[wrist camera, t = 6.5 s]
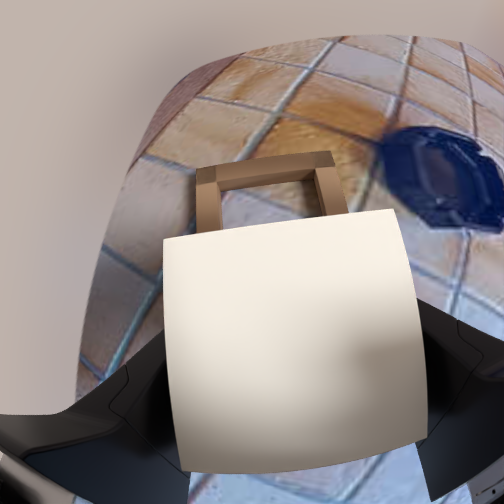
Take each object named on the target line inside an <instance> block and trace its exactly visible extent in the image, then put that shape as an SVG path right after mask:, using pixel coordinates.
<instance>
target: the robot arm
mask: <svg viewBox="0 0 504 504" xmlns="http://www.w3.org/2000/svg"><path fill="white" fill-rule="evenodd" d="M416 299H417V305H418V310H419V316H420V323H421V330H422V337H423V345H424V354H425V365H426V379H427V407H428V421H427V438H425V439H422V440H420V441H417V442H415V444H416V447H417V449H418V450H417V451H418V455H419V458H420V461H421V465H422V469H423V472H424V476H425V480H426V484H427V488H428V492H429V496H430V500H431V502H433V501H435V500H437V499H439V498H442V497H444V496H446V495H448V494H449V493H451V492H453V491H455V490H457V489H459V488H461V487H462V486H464V485H466V484H467V486H468V489H469V493H470V496H471V499H472V504H504V341H502V340H500V339H497V338H495V337H493V336H491V335H488V334H486V333H484V332H482V331H480V330H478V329H476V328H474V327H472V326H470V325H468V324H466V323H464V322H462V321H460V320H457V319H456V318H454V317H453V316H451V315H449V314H447V313H445V312H443V311H441V310H439V309H437V308H435V307H433V306H431V305H430V304H428V303H426V302H424V301H422V300H420V299H418V298H416ZM0 451H1V452H3V453H4V454H3V456H2V459H1V461H0V504H187V499H188V491H189V484H190V476H191V472H188V471H182V468H181V463H180V458H179V453H178V447H177V441H176V435H175V428H174V421H173V414H172V407H171V398H170V390H169V380H168V369H167V357H166V343H165V328H164V329H163V330H162V331H161V332H160V333H159V334H157V335H156V336H155V337H154V338H153V339H152V340H151V341H150V342H149V343H147V344H146V345H145V346H144V347H143V348H142V349H141V350H140V351H138V352H137V353H136V354H135V355H134V356H133V357H132V358H131V359H129V360H128V361H127V362H126V365H125V364H124V365H123V366H122V367H120V368H119V369H118V370H117V371H116V372H115V373H114V374H112V375H111V376H110V377H109V378H108V379H107V380H105V381H104V382H103V383H101V384H100V385H99V386H98V387H96V388H95V389H94V390H92V391H91V392H90V393H88V394H87V395H85V396H84V397H83V398H81V399H80V400H79V401H77V402H76V403H75V404H73V405H72V406H71V407H69V408H68V409H66V410H64V411H62V412H60V413H57V414H52V415H3V414H0Z"/></svg>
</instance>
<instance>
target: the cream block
mask: <svg viewBox="0 0 504 504" xmlns="http://www.w3.org/2000/svg"><path fill="white" fill-rule="evenodd" d="M163 299H164V326H165V343H166V357H167V369H168V380H169V390H170V398H171V407H172V414H173V421H174V428H175V435H176V441H177V447H178V453H179V458H180V463H181V468H182V471H188V472H199V473H216V474H261V473H278V472H289V471H298V470H306V469H313V468H320V467H326V466H331V465H337V464H342V463H346V462H351V461H355V460H359V459H363V458H367V457H371V456H375V455H378V454H382V453H385V452H388V451H391V450H394V449H397V448H400V447H403V446H406V445H409V444H412V443H414V442H417V441H420V440H422V439H425V438H427V421H428V407H427V379H426V365H425V354H424V345H423V337H422V330H421V323H420V316H419V310H418V305H417V299H416V294H415V289H414V284H413V279H412V275H411V270H410V266H409V262H408V258H407V254H406V250H405V246H404V243H403V239H402V236H401V232H400V229H399V225H398V222H397V219H396V216H395V213H394V210H393V209H385V210H376V211H366V212H357V213H348V214H340V215H331V216H323V217H314V218H306V219H299V220H291V221H283V222H275V223H268V224H261V225H253V226H246V227H239V228H232V229H225V230H219V231H212V232H205V233H199V234H192V235H186V236H180V237H173V238H167V239H164V242H163Z"/></svg>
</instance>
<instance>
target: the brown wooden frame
mask: <svg viewBox="0 0 504 504" xmlns="http://www.w3.org/2000/svg"><path fill="white" fill-rule="evenodd" d="M310 179H314V182H315V186H316V190H317V194H318V198H319V203H320V207H321V211H322V216H331V215H340V214H348V213H349V212H348V208H347V204H346V201H345V197H344V193H343V190H342V186H341V183H340V180H339V176H338V173H337V170H336V167H335V163H334V160H333V157H332V154H331V151H318V152H307V153H298V154H288V155H280V156H272V157H265V158H257V159H251V160H244V161H238V162H232V163H226V164H220V165H214V166H209V167H204V168H199V169H196V226H197V234H199V233H205V232H212V231H219V230H223V224H222V208H221V192H222V191H228V190H235V189H241V188H248V187H255V186H262V185H269V184H276V183H284V182H292V181H301V180H310Z"/></svg>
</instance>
